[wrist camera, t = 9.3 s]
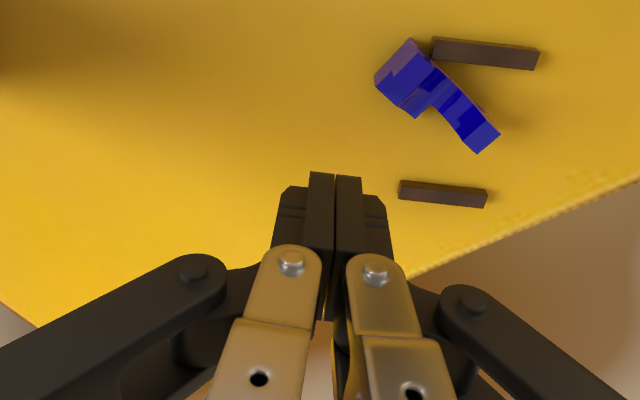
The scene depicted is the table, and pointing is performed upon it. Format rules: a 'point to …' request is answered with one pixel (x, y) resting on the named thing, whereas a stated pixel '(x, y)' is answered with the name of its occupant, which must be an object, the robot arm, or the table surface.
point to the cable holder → (433, 95)
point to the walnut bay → (473, 55)
